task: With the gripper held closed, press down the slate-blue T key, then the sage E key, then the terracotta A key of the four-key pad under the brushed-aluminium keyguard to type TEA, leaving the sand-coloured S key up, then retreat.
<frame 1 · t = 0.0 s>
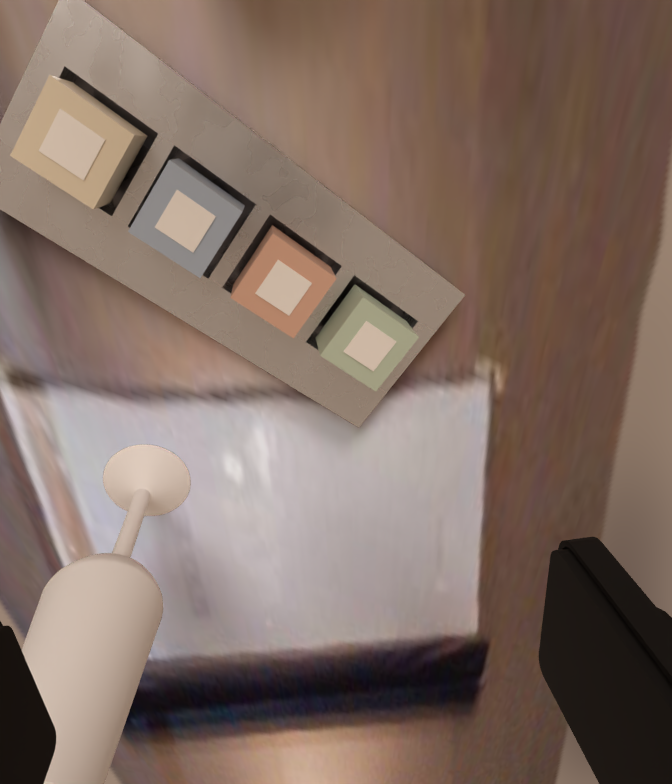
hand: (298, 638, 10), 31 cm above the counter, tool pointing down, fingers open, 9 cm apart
key S: (82, 145, 30), point 4 cm above the counter, slide at 0.0 cm
keyguard pad: (240, 239, 37), on the counter
champagne flute: (147, 479, 44), on the counter
key A: (282, 281, 34), point 4 cm above the counter, slide at 0.0 cm
key E: (365, 337, 36), point 4 cm above the counter, slide at 0.0 cm
key T: (189, 217, 32), point 4 cm above the counter, slide at 0.0 cm
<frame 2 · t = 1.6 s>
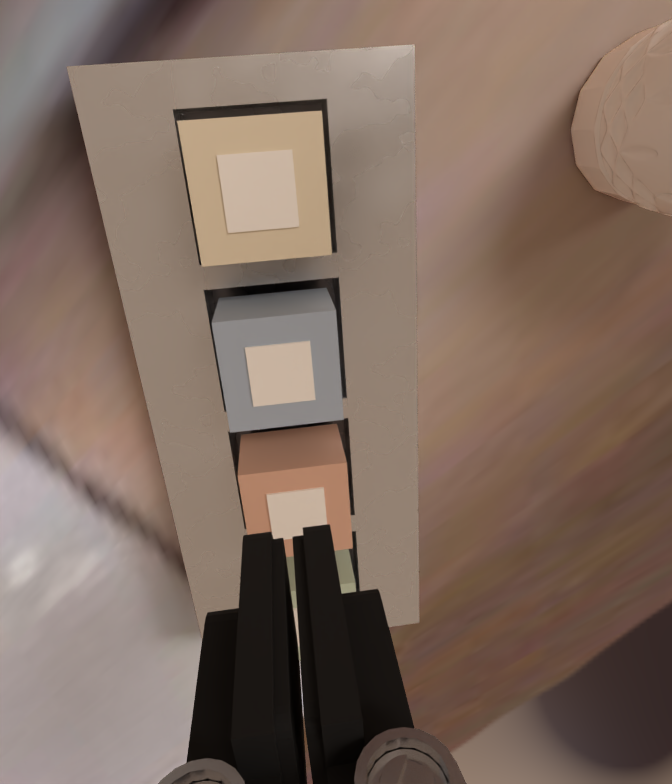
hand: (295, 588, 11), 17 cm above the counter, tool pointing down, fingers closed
key S: (259, 188, 20), point 4 cm above the counter, slide at 0.0 cm
keyguard pad: (285, 388, 28), on the counter
key A: (295, 491, 25), point 4 cm above the counter, slide at 0.0 cm
key E: (308, 598, 28), point 4 cm above the counter, slide at 0.0 cm
white cup: (639, 119, 25), on the counter
key T: (280, 357, 22), point 4 cm above the counter, slide at 0.0 cm
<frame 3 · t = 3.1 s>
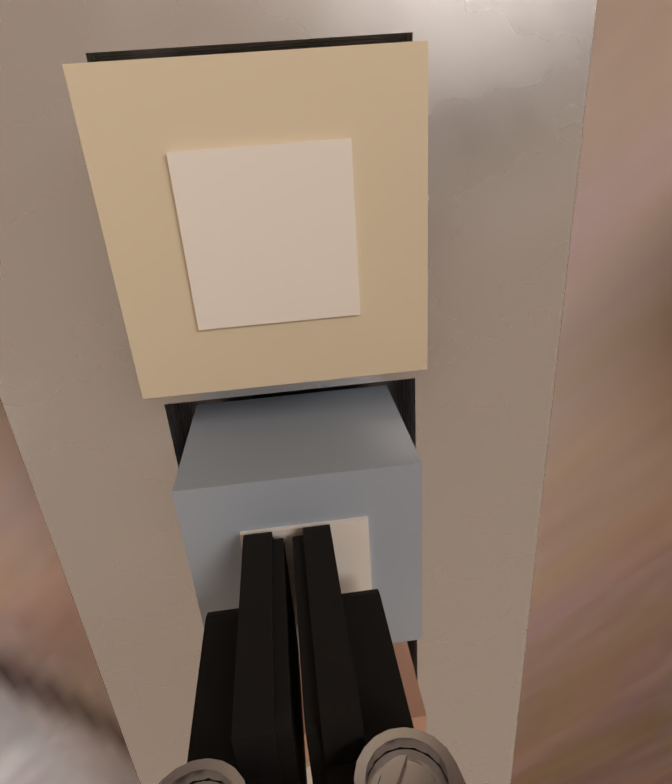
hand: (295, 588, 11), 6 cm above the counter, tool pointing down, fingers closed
key S: (271, 221, 9), point 4 cm above the counter, slide at 0.0 cm
keyguard pad: (308, 524, 17), on the counter
key A: (328, 722, 15), point 4 cm above the counter, slide at 0.0 cm
key T: (305, 518, 12), point 4 cm above the counter, slide at 0.4 cm, touching gripper
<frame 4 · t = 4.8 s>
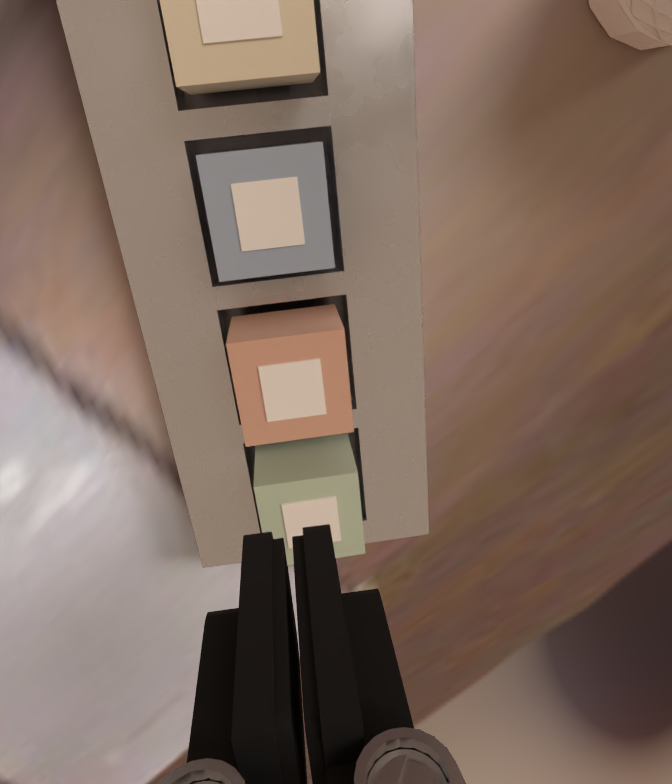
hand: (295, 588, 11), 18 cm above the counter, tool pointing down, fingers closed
key S: (239, 5, 18), point 4 cm above the counter, slide at 0.0 cm
keyguard pad: (279, 274, 26), on the counter
key A: (291, 373, 23), point 4 cm above the counter, slide at 0.0 cm
key E: (309, 499, 26), point 4 cm above the counter, slide at 0.0 cm
key T: (269, 209, 22), point 3 cm above the counter, slide at 1.5 cm
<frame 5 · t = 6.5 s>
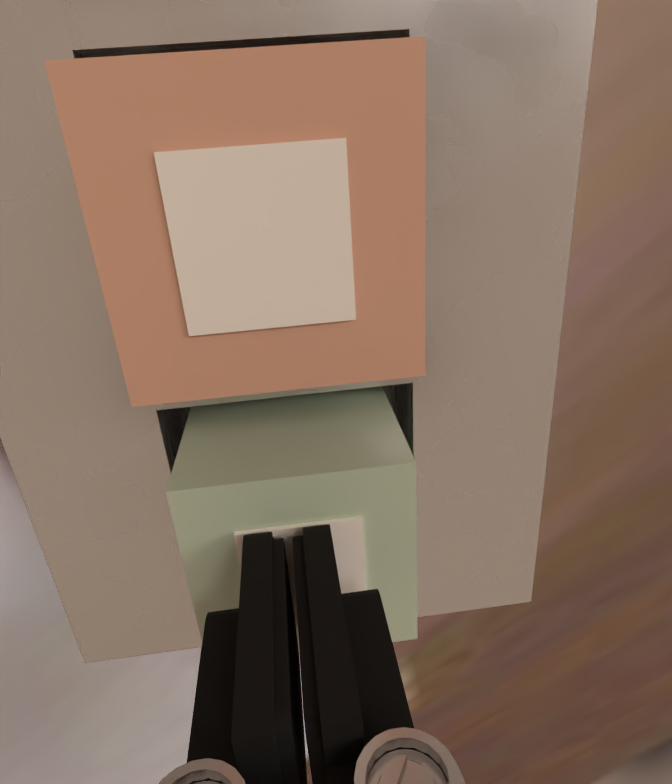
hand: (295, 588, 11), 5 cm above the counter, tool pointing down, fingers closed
keyguard pad: (247, 34, 12), on the counter
key A: (264, 223, 9), point 4 cm above the counter, slide at 0.0 cm
key E: (300, 518, 12), point 4 cm above the counter, slide at 0.7 cm, touching gripper
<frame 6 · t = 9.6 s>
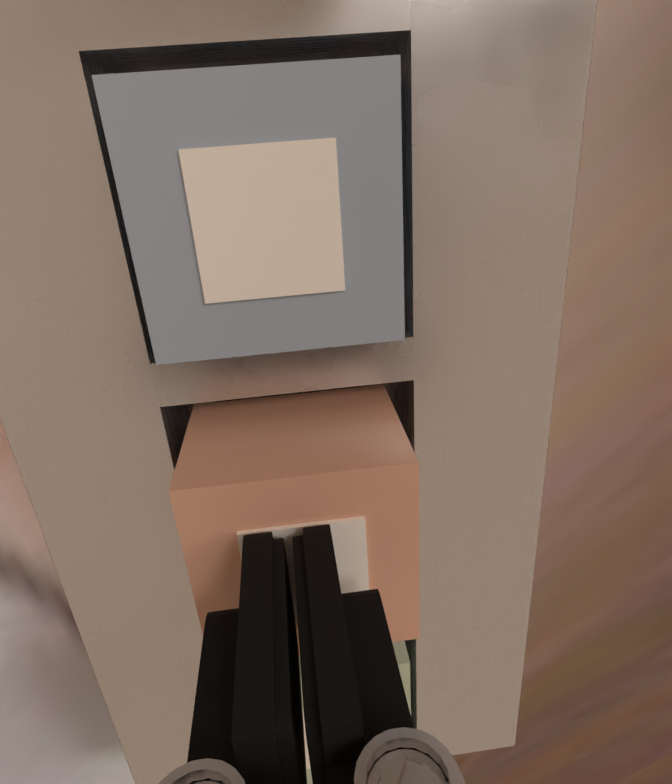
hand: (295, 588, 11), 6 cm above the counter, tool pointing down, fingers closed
keyguard pad: (283, 328, 14), on the counter
key A: (302, 518, 12), point 4 cm above the counter, slide at 0.5 cm, touching gripper
key E: (321, 676, 16), point 3 cm above the counter, slide at 1.5 cm
key T: (268, 211, 11), point 3 cm above the counter, slide at 1.5 cm
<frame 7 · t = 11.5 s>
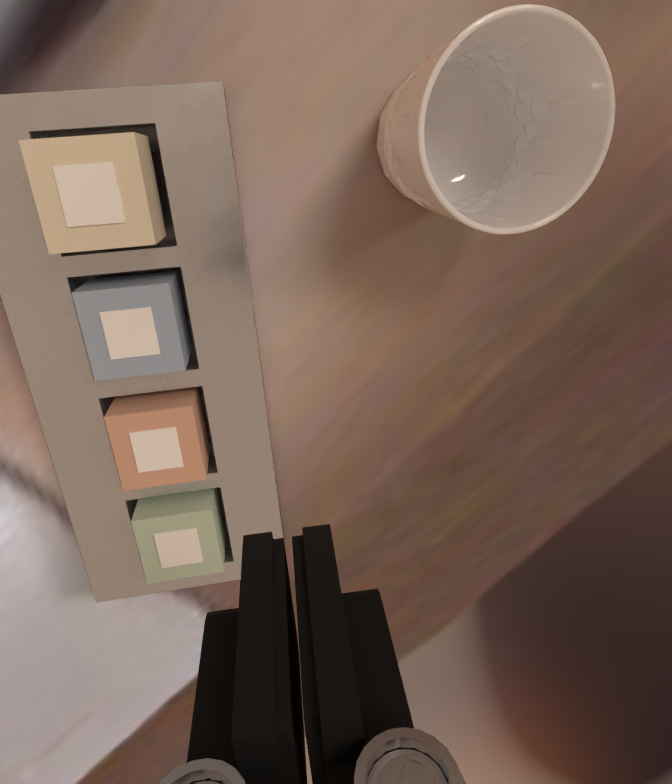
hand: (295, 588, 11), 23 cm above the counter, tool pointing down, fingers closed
key S: (100, 193, 25), point 4 cm above the counter, slide at 0.0 cm
keyguard pad: (157, 365, 32), on the counter
key A: (161, 435, 31), point 3 cm above the counter, slide at 1.5 cm
key E: (182, 529, 34), point 3 cm above the counter, slide at 1.5 cm
white cup: (434, 139, 30), on the counter
key T: (137, 324, 29), point 3 cm above the counter, slide at 1.5 cm
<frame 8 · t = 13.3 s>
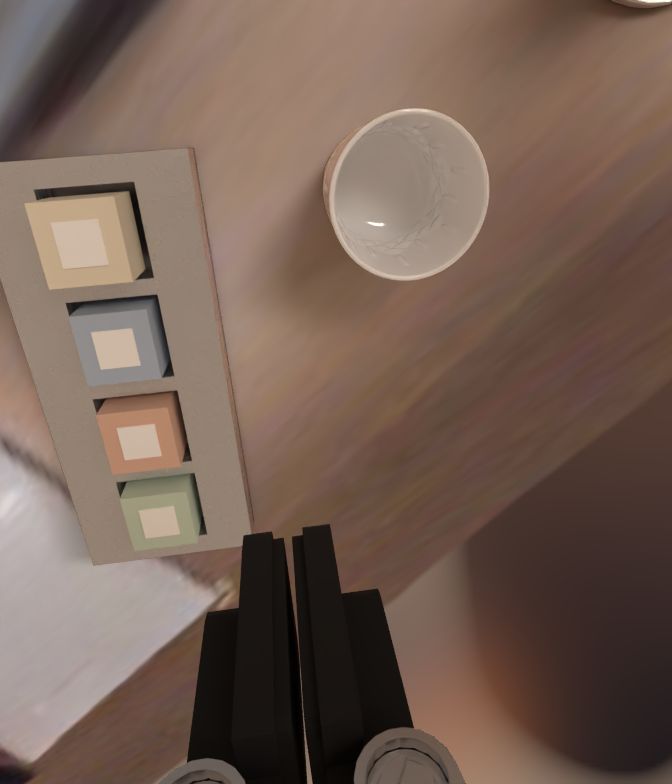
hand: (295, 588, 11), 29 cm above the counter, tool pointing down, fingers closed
key S: (89, 239, 31), point 4 cm above the counter, slide at 0.0 cm
keyguard pad: (142, 370, 39), on the counter
key A: (144, 429, 38), point 3 cm above the counter, slide at 1.5 cm
key E: (163, 507, 40), point 3 cm above the counter, slide at 1.5 cm
white cup: (373, 185, 36), on the counter
key T: (123, 339, 35), point 3 cm above the counter, slide at 1.5 cm
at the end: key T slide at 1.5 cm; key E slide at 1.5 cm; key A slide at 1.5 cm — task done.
